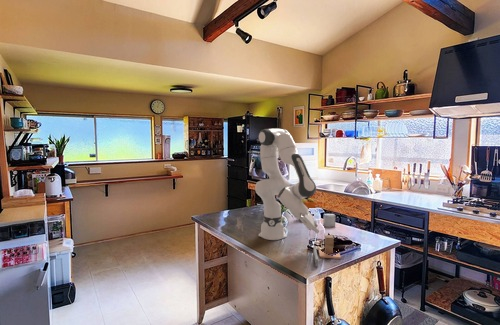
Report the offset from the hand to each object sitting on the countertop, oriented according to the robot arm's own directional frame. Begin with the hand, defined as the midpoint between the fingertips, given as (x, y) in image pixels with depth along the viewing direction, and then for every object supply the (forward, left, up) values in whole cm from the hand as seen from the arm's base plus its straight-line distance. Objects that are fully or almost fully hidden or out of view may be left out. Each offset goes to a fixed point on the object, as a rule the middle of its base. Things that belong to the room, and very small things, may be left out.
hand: (317, 229), depth 158 cm
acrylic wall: (+9, -1, -14) cm, 17 cm away
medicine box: (-53, +13, -14) cm, 56 cm away
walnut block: (0, +6, -13) cm, 14 cm away
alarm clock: (-69, -3, -14) cm, 70 cm away
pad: (0, +7, -14) cm, 15 cm away
